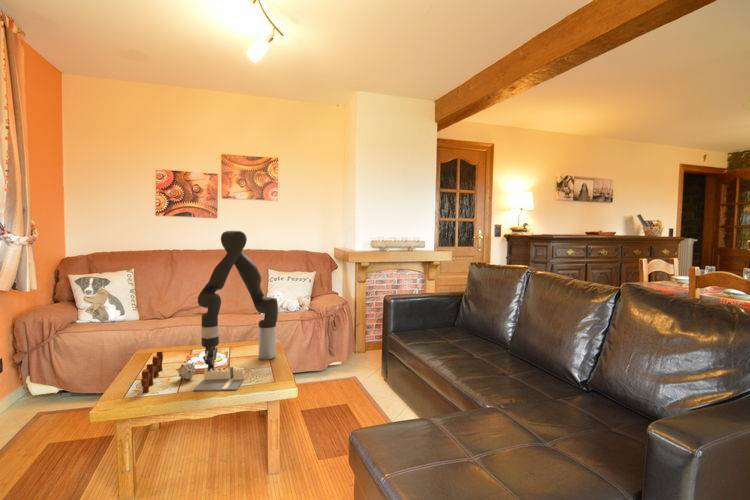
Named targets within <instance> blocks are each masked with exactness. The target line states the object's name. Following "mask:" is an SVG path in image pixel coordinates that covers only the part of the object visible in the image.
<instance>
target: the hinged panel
mask: <svg viewBox="0 0 750 500" xmlns="http://www.w3.org/2000/svg"><path fill="white" fill-rule="evenodd" d="M229 378H231V379H232V378H234V366H230V368H229V367H226V368H225V369H223V367H222V368H220V370H219V369H218V368H214V371H212V369H210V371H208V368H205V369H204V372H203V379H204V380H208V379H229Z"/></svg>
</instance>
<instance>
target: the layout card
mask: <svg viewBox="0 0 750 500" xmlns="http://www.w3.org/2000/svg"><path fill="white" fill-rule="evenodd" d="M244 381H245V378H244V379H234V377H233V378H232V379H231V378H229V379H208V380H204V378H203V379H202V380H201V381H200V382H199V383H198V384H197V385H196V386H195V387H194V388H193V389H192V392H220V391H221V392H222V391H223V392H228V391H233V392H235V391H238V389H239V388H240V386H241V385H242V384H243V382H244Z"/></svg>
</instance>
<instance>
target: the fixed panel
mask: <svg viewBox="0 0 750 500" xmlns="http://www.w3.org/2000/svg"><path fill="white" fill-rule="evenodd" d="M233 378H234V379H244V380H245V370H244V367H241V368H240V367H233Z"/></svg>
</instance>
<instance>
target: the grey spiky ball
mask: <svg viewBox="0 0 750 500" xmlns="http://www.w3.org/2000/svg"><path fill="white" fill-rule="evenodd" d="M195 366H196V365H194V362H192V363H190V362H186V361H185V360H184V363H182V364H181V365H180V366H179V368H177V369H175V371H177V373H178V374H179V375H178V377H179V378H180V379H179V380H182V379H183V380H188V382H189V381H190V379H191V378H192V377H194V375H195V374H196V373H199V371H197V370H196V368H195Z"/></svg>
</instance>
